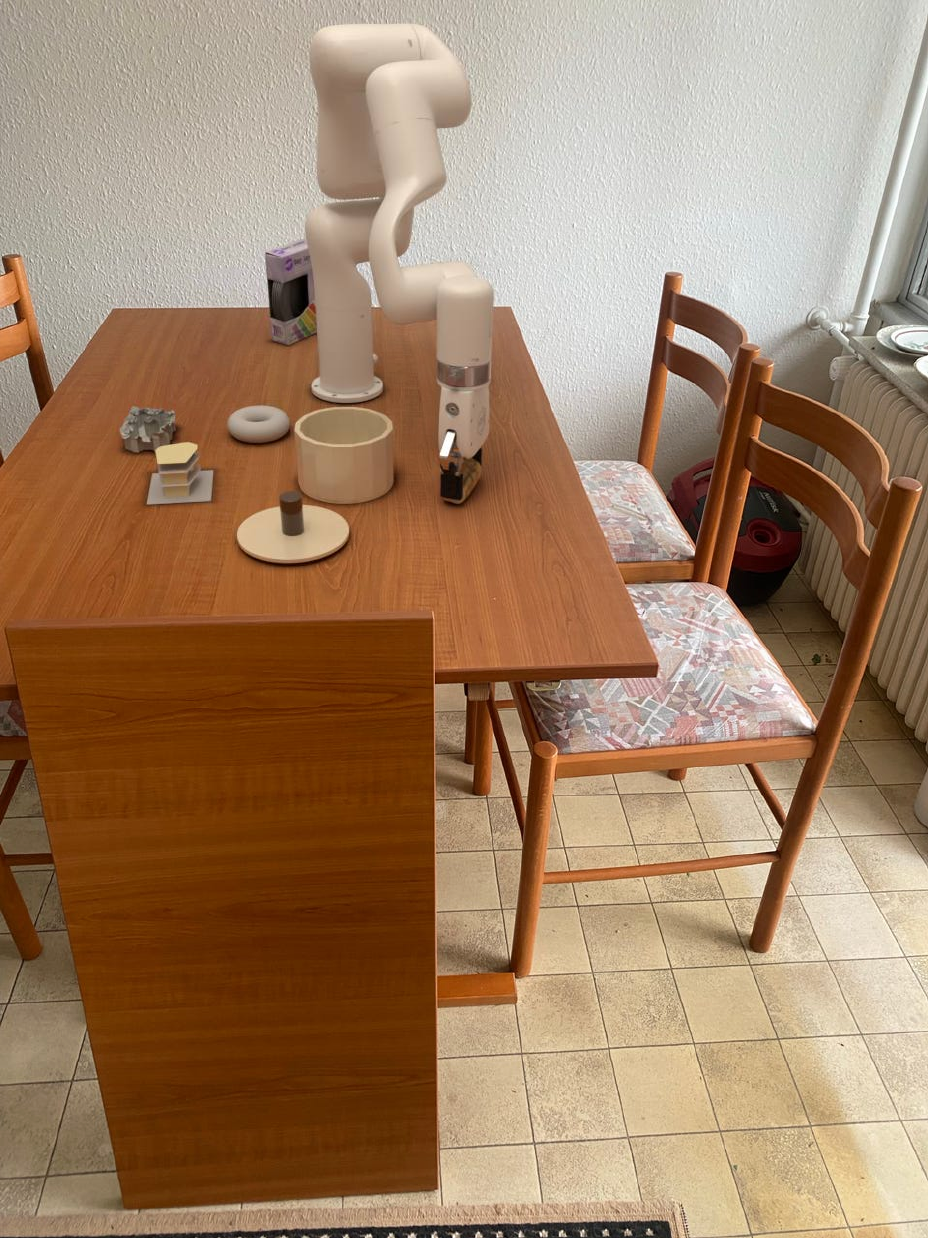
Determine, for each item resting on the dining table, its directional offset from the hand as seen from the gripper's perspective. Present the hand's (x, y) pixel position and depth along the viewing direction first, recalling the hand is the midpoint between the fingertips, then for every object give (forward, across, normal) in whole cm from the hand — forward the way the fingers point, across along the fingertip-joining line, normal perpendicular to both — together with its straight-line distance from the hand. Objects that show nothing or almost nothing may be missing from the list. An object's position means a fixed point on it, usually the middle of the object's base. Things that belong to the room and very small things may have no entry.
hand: (461, 484), depth 152 cm
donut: (+1, +8, +37) cm, 38 cm away
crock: (+1, -3, +17) cm, 17 cm away
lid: (+1, -21, +17) cm, 27 cm away
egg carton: (+1, 0, +52) cm, 52 cm away
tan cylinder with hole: (+1, 0, 0) cm, 1 cm away
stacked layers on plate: (+1, -13, +39) cm, 41 cm away
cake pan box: (+1, +56, +51) cm, 75 cm away
